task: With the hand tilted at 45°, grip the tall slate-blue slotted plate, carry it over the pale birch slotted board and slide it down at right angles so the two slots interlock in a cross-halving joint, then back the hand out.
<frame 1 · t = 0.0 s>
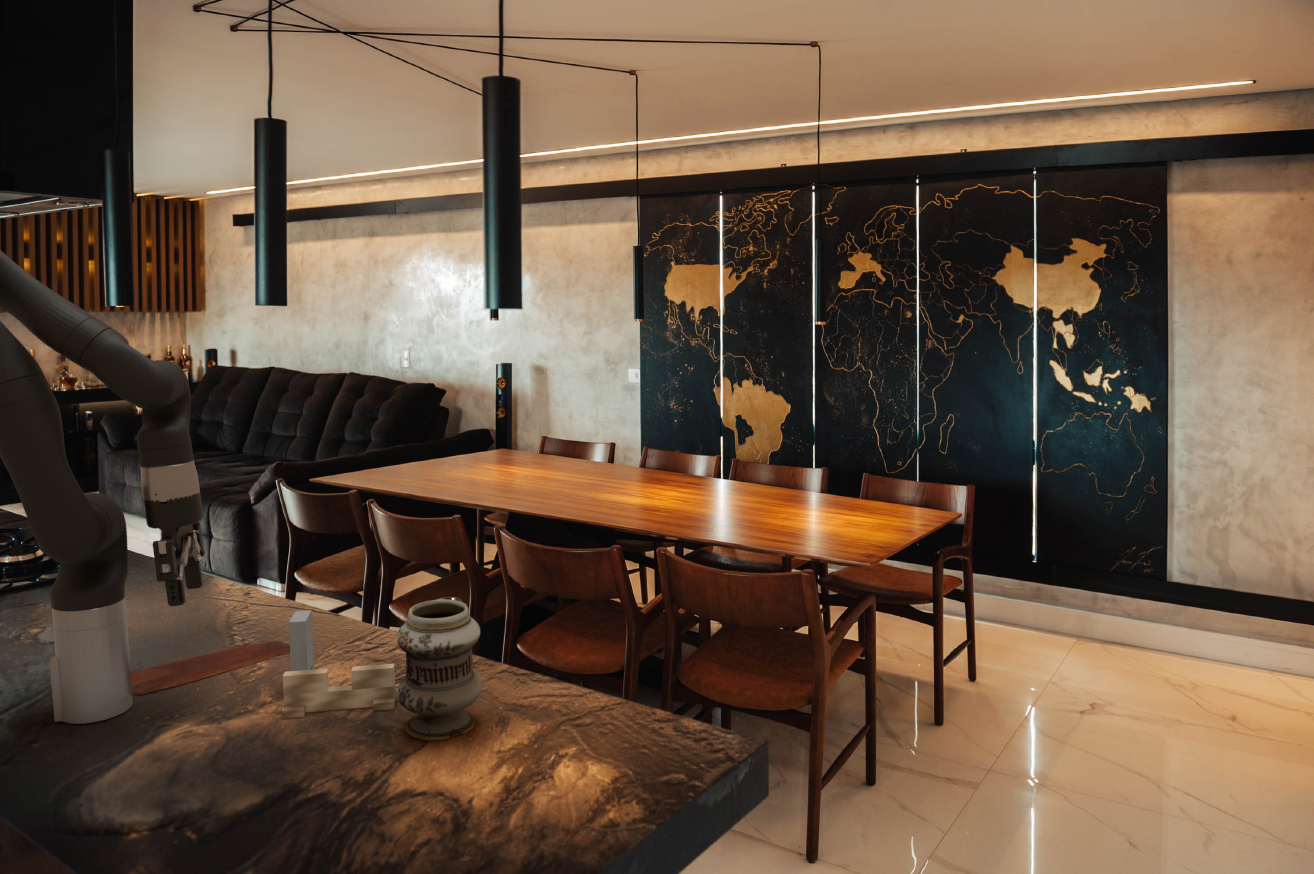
hand: (186, 596, 130), 17 cm above the kitchen island, tool pointing down, fingers open, 8 cm apart
apothecary jar: (441, 726, 125), on the kitchen island
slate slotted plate: (303, 687, 139), on the kitchen island
wineglass: (449, 669, 146), on the kitchen island
wooden tablet: (213, 669, 148), on the kitchen island
birch slotted board: (341, 706, 131), on the kitchen island
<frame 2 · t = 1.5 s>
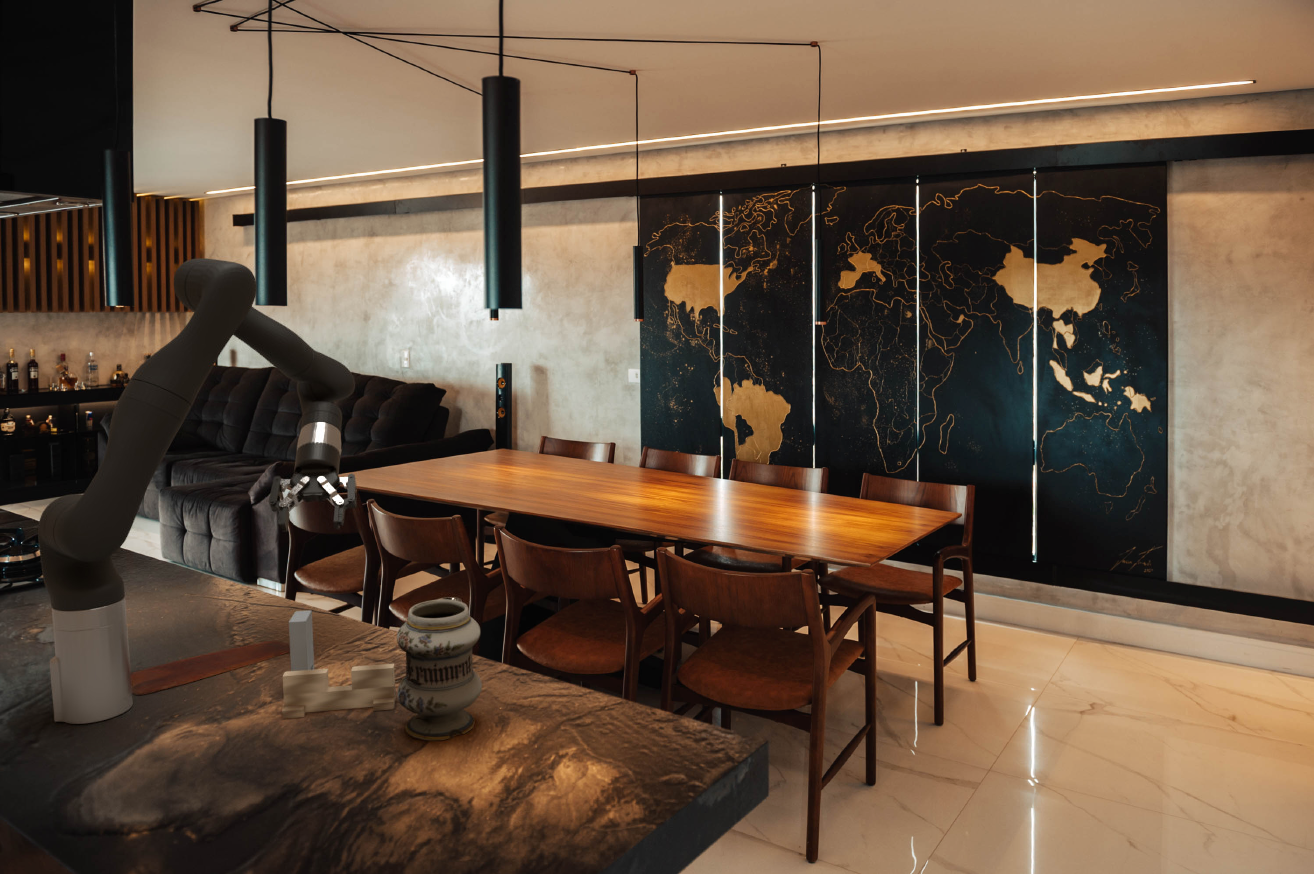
hand: (310, 527, 147), 24 cm above the kitchen island, tool tilted 45°, fingers open, 8 cm apart
nothing on the kitchen island moved.
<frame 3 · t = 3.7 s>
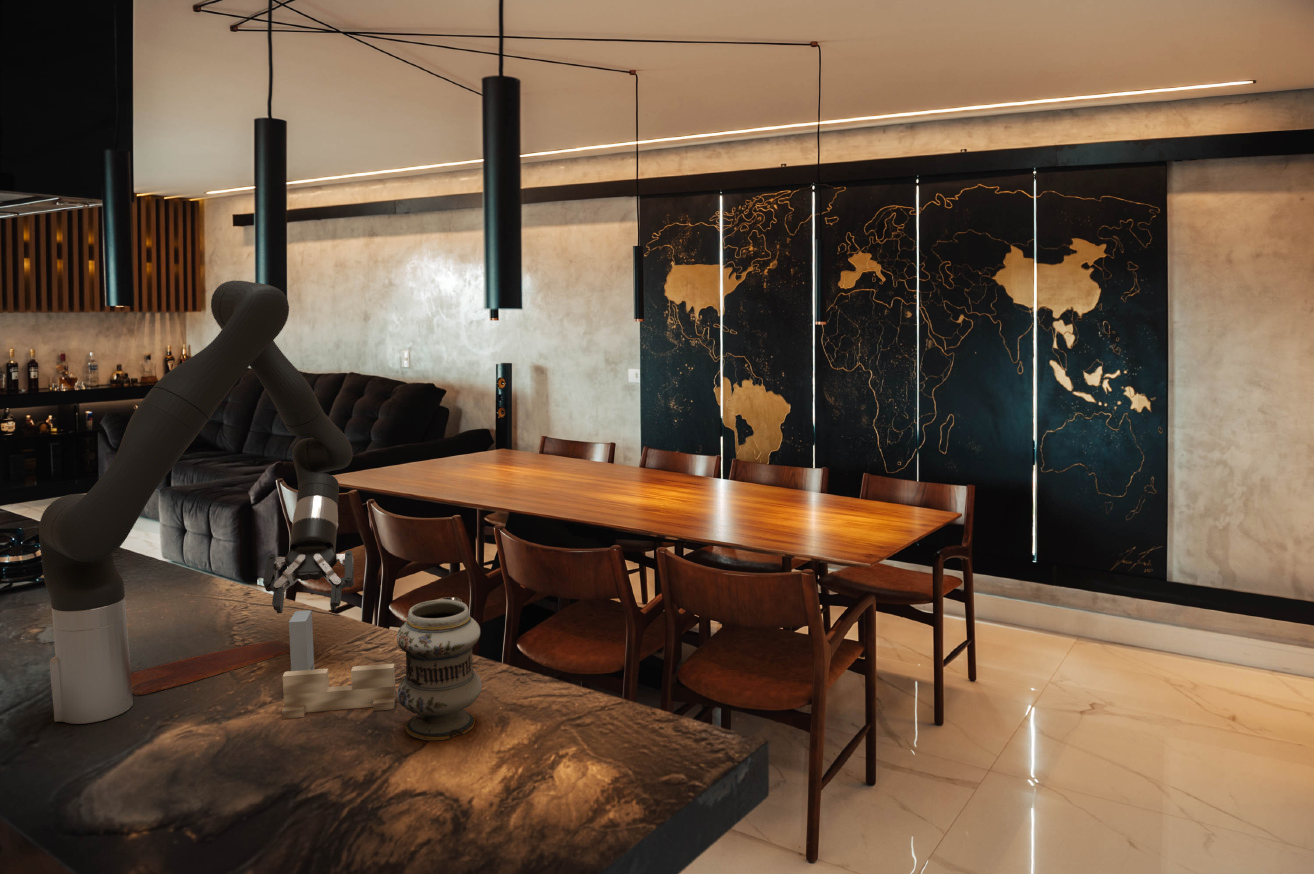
hand: (306, 609, 142), 11 cm above the kitchen island, tool tilted 45°, fingers open, 8 cm apart
nothing on the kitchen island moved.
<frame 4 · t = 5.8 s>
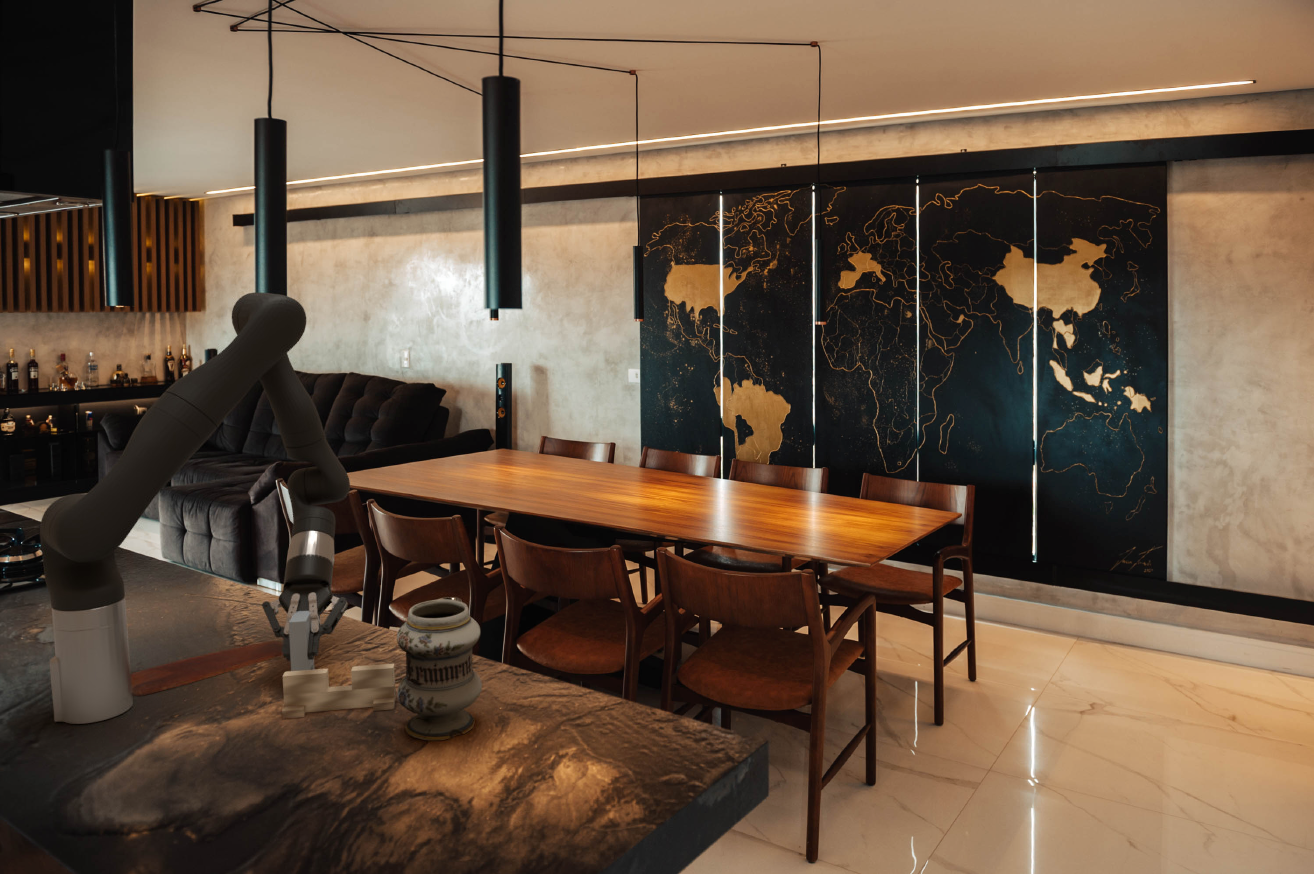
hand: (299, 657, 136), 6 cm above the kitchen island, tool tilted 45°, fingers closed on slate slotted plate, 2 cm apart
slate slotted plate: (303, 687, 139), on the kitchen island, touching gripper
everything else where it was.
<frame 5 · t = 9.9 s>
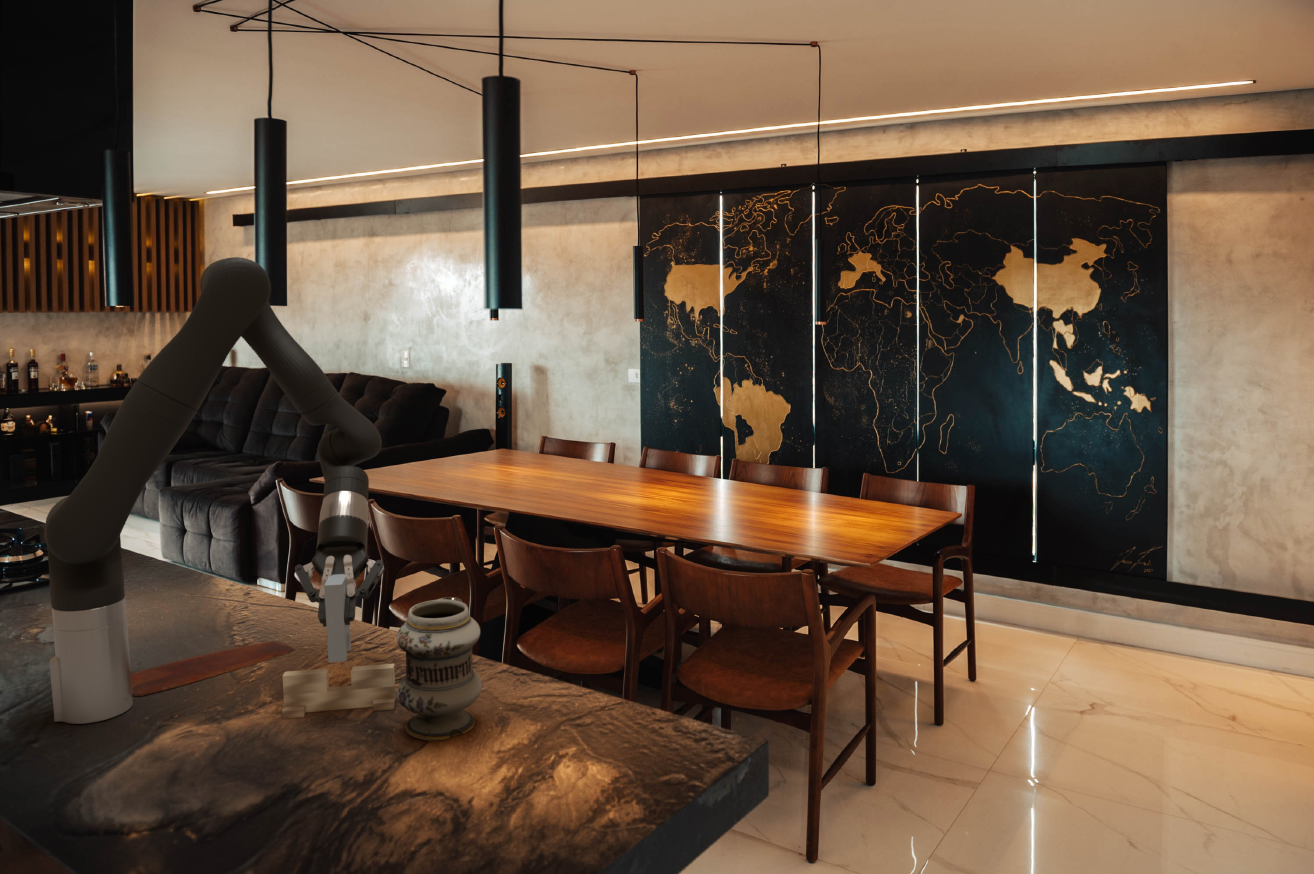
hand: (336, 623, 128), 14 cm above the kitchen island, tool tilted 45°, fingers closed on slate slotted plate, 2 cm apart
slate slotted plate: (340, 654, 130), point 8 cm above the kitchen island, touching gripper
everything else where it was.
when the fingers open (8 cm above the kitchen island, at t = 12.3 s): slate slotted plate drops 2 cm, on the kitchen island.
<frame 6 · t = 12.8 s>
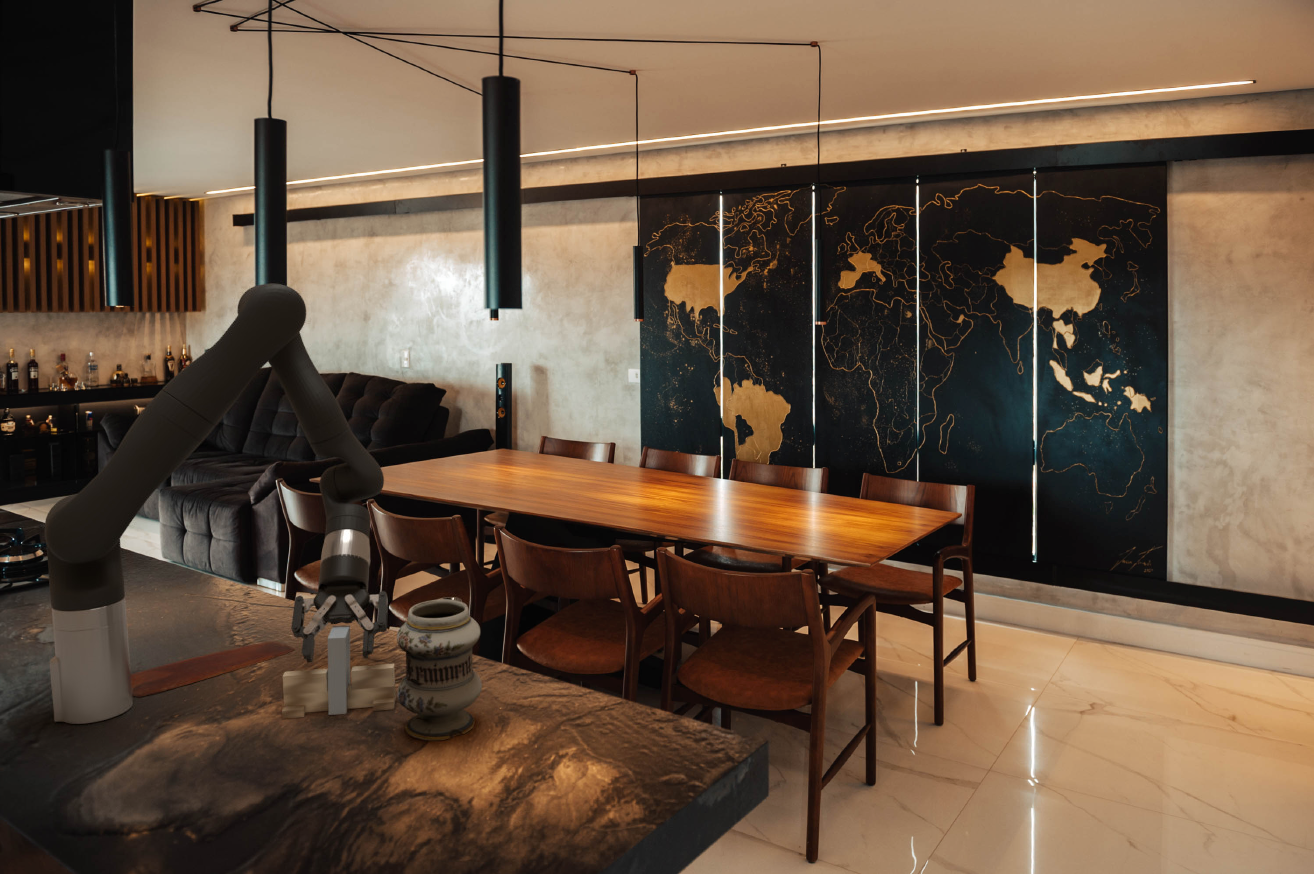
hand: (337, 658, 129), 8 cm above the kitchen island, tool tilted 45°, fingers open, 7 cm apart
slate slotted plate: (339, 706, 131), on the kitchen island
everything else where it was.
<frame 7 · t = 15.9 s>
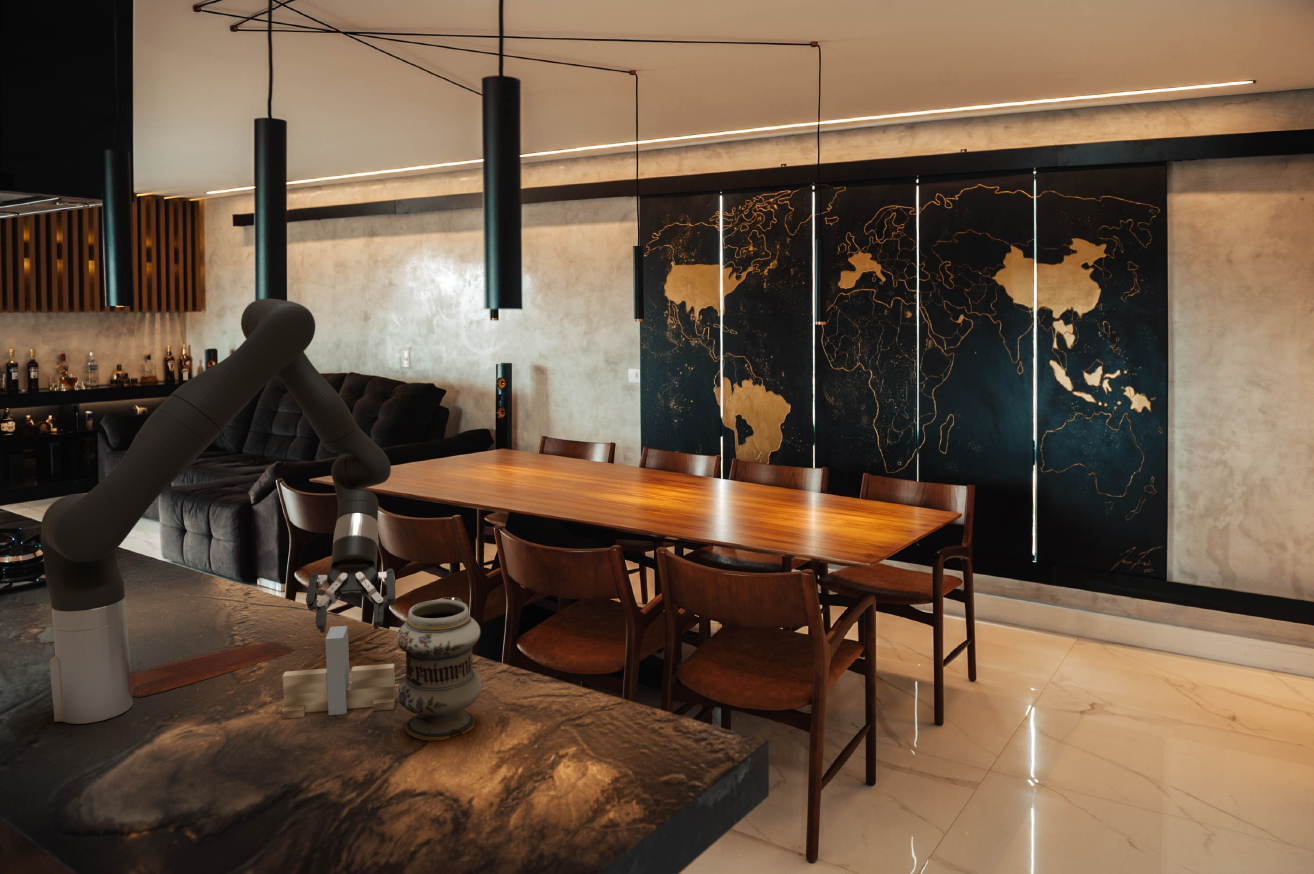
hand: (349, 628, 141), 8 cm above the kitchen island, tool tilted 45°, fingers open, 8 cm apart
nothing on the kitchen island moved.
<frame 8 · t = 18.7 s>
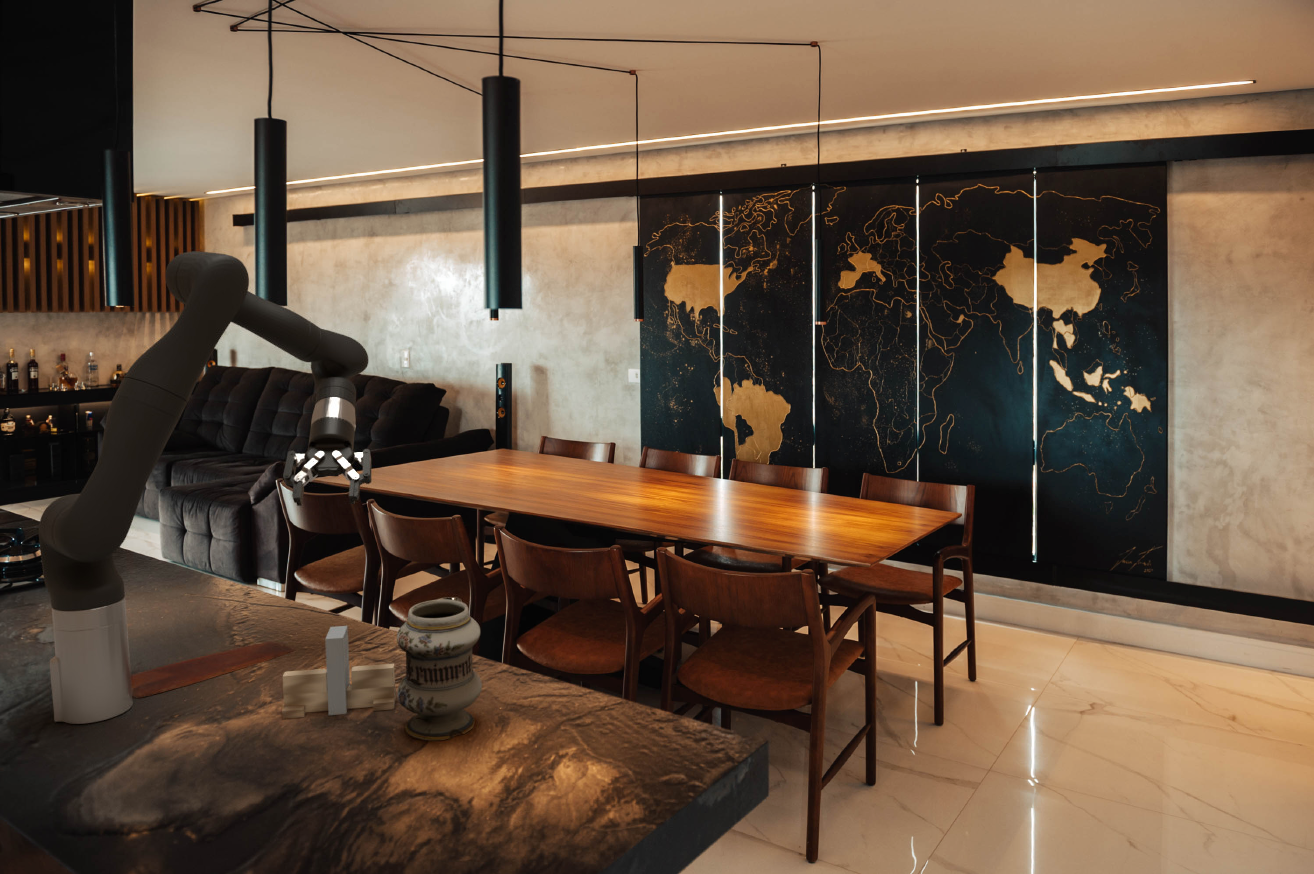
hand: (325, 502, 145), 29 cm above the kitchen island, tool tilted 45°, fingers open, 8 cm apart
nothing on the kitchen island moved.
at the end: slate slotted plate 0.2 cm off-centre on the birch slotted board, point 0.0 cm above the birch slotted board's base; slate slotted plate tilted 0°; the gripper is holding nothing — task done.
